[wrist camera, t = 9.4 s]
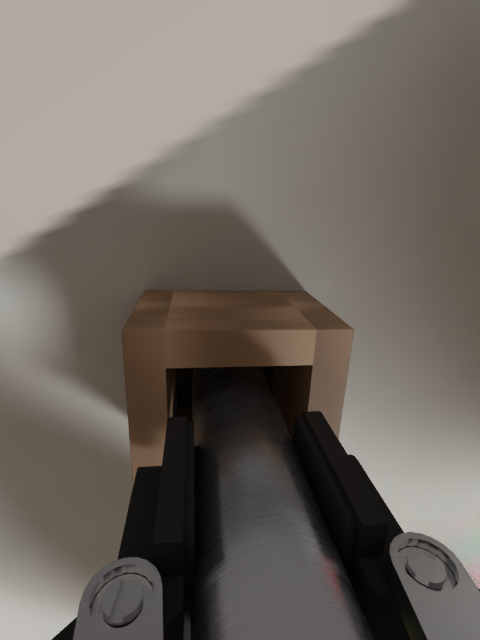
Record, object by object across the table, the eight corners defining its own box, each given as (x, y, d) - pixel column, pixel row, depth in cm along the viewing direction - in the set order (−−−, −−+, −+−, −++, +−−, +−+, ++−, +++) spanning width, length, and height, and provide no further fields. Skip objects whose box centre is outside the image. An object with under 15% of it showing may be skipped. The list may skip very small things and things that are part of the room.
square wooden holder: (306, 291, 16) (353, 329, 11) (293, 426, 18) (328, 505, 13) (144, 290, 15) (121, 331, 10) (151, 432, 17) (135, 520, 12)
